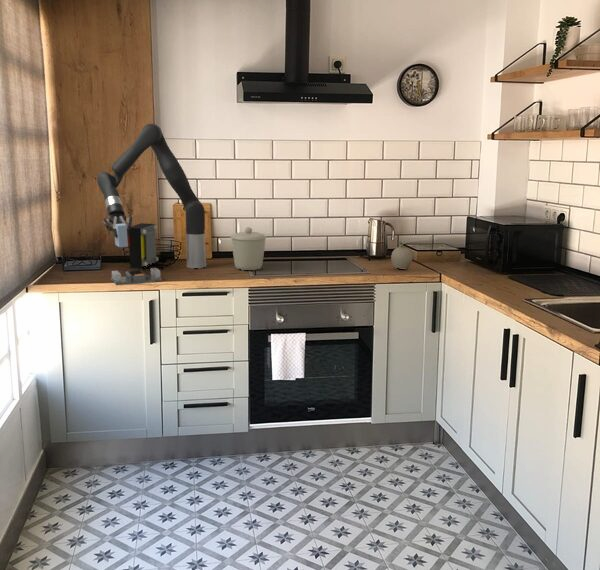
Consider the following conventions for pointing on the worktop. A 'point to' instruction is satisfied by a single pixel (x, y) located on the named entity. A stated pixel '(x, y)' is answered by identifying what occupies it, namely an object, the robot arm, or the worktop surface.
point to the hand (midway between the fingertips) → (122, 236)
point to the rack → (135, 277)
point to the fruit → (401, 257)
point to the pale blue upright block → (121, 235)
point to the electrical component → (142, 245)
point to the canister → (248, 249)
